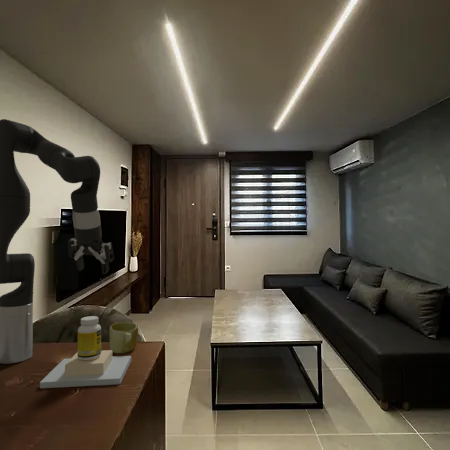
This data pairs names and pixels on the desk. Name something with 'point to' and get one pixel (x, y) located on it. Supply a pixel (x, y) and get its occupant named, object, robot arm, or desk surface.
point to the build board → (87, 379)
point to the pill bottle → (89, 339)
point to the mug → (123, 337)
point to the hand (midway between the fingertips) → (93, 271)
